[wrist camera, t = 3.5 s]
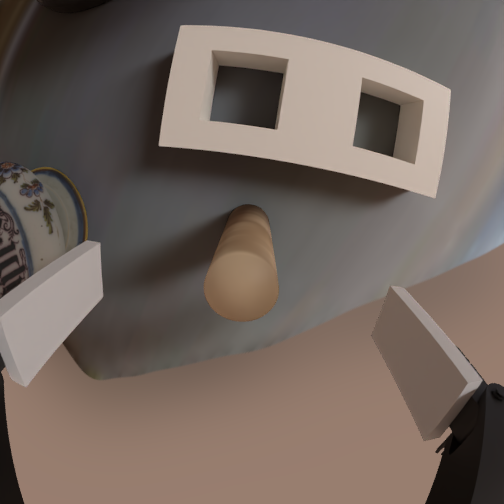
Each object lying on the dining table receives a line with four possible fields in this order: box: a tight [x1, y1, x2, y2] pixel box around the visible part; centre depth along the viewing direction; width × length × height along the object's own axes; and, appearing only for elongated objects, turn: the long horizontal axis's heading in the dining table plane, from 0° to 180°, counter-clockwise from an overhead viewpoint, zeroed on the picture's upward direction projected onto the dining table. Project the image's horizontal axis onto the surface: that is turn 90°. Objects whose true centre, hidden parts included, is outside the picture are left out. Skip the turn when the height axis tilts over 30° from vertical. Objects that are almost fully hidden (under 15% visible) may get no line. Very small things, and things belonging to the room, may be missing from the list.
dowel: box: [204, 204, 279, 322], centre depth 16 cm, size 3×3×10 cm
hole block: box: [159, 25, 451, 198], centre depth 16 cm, size 18×8×4 cm, turn 81°
